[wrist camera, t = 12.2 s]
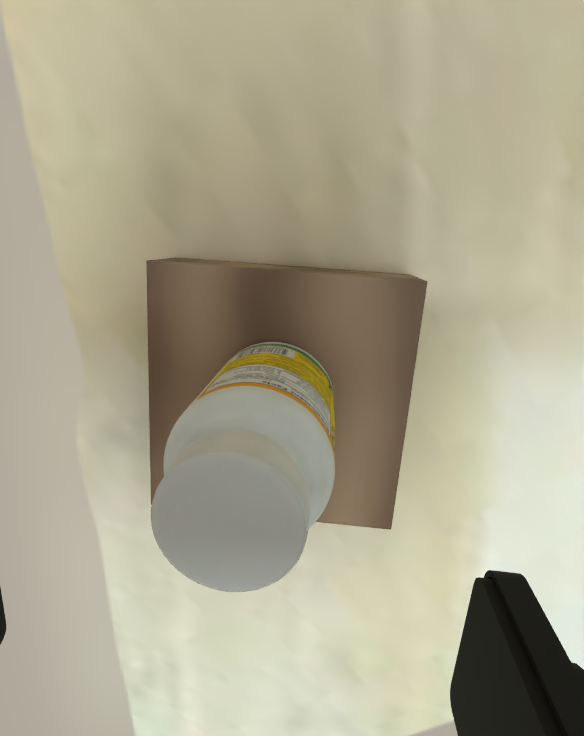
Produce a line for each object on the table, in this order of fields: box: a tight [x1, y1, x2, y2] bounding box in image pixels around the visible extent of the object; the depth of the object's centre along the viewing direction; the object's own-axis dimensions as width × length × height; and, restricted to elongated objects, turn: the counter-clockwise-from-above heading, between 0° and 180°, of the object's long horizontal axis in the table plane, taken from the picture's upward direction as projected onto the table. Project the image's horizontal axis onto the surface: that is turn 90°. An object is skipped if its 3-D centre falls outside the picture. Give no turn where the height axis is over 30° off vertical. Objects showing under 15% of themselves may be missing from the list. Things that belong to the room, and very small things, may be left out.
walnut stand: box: [147, 258, 427, 529], centre depth 23 cm, size 12×12×4 cm
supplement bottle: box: [151, 342, 336, 592], centre depth 16 cm, size 6×6×10 cm
